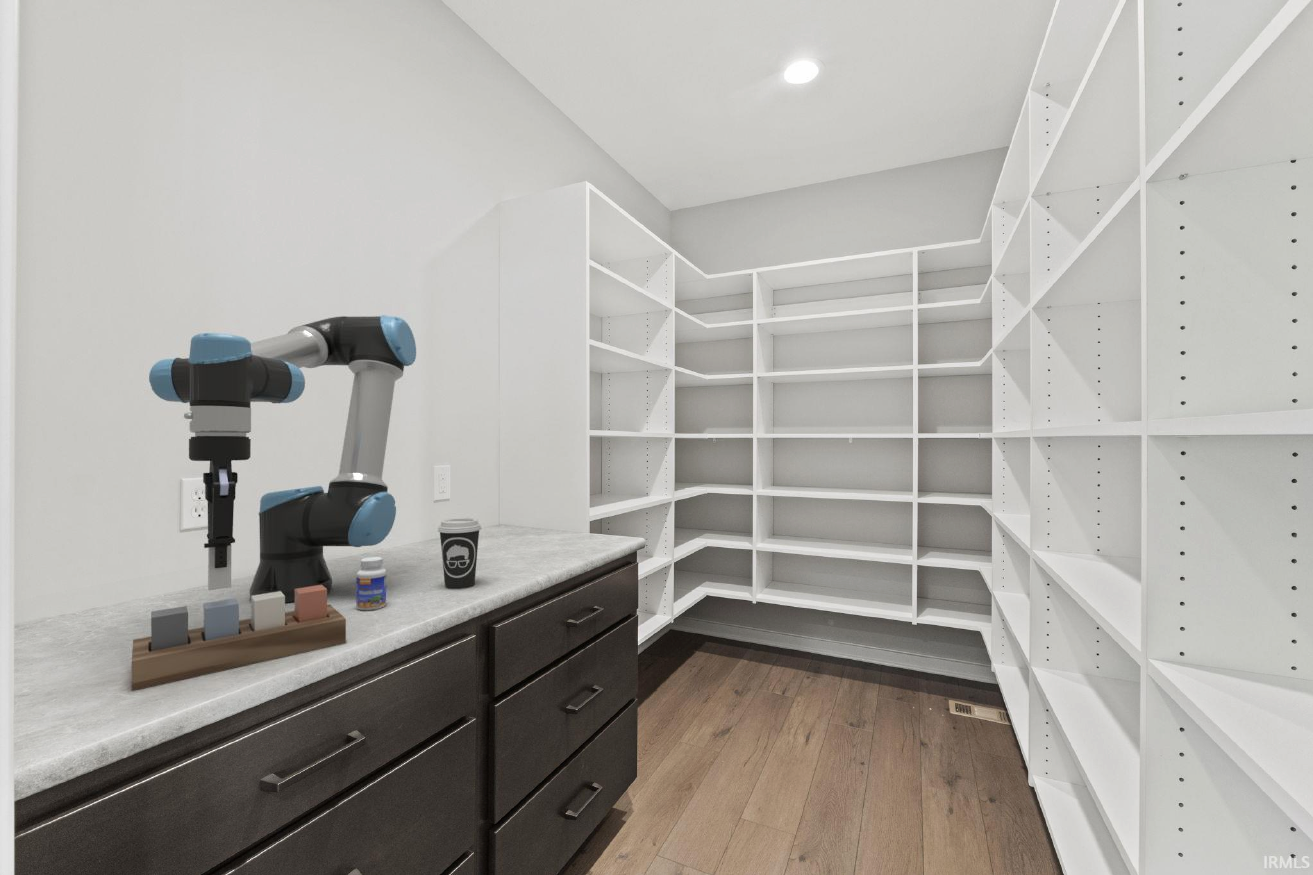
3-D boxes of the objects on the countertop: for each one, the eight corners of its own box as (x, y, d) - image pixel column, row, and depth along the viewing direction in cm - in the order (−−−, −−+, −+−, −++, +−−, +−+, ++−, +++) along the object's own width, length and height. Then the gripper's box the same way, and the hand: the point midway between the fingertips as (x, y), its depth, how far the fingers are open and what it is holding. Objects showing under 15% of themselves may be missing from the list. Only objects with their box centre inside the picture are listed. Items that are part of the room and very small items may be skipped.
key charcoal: (151, 645, 82) (151, 611, 82) (186, 638, 85) (186, 605, 85) (151, 652, 79) (151, 617, 79) (188, 645, 82) (188, 611, 82)
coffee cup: (490, 583, 130) (490, 519, 130) (455, 593, 122) (455, 524, 122) (463, 578, 136) (463, 516, 136) (428, 587, 128) (428, 521, 128)
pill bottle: (355, 612, 109) (355, 563, 109) (356, 605, 114) (356, 557, 114) (386, 608, 111) (386, 560, 111) (386, 601, 116) (385, 555, 116)
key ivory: (251, 626, 90) (251, 595, 90) (280, 621, 93) (280, 591, 93) (254, 632, 87) (254, 601, 87) (284, 626, 90) (284, 596, 90)
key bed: (133, 666, 83) (133, 639, 83) (329, 626, 101) (329, 604, 101) (131, 690, 75) (131, 661, 75) (345, 642, 93) (345, 618, 93)
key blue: (203, 635, 86) (203, 603, 86) (235, 629, 89) (235, 598, 89) (205, 642, 83) (205, 609, 83) (238, 635, 86) (238, 603, 86)
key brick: (294, 618, 94) (294, 588, 94) (321, 613, 97) (321, 584, 97) (299, 624, 91) (299, 593, 91) (327, 618, 94) (327, 589, 94)
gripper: (186, 435, 88) (185, 584, 88) (191, 434, 79) (190, 601, 79) (245, 435, 93) (244, 576, 93) (256, 434, 84) (255, 591, 84)
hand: (219, 587), depth 86 cm, fingers closed
